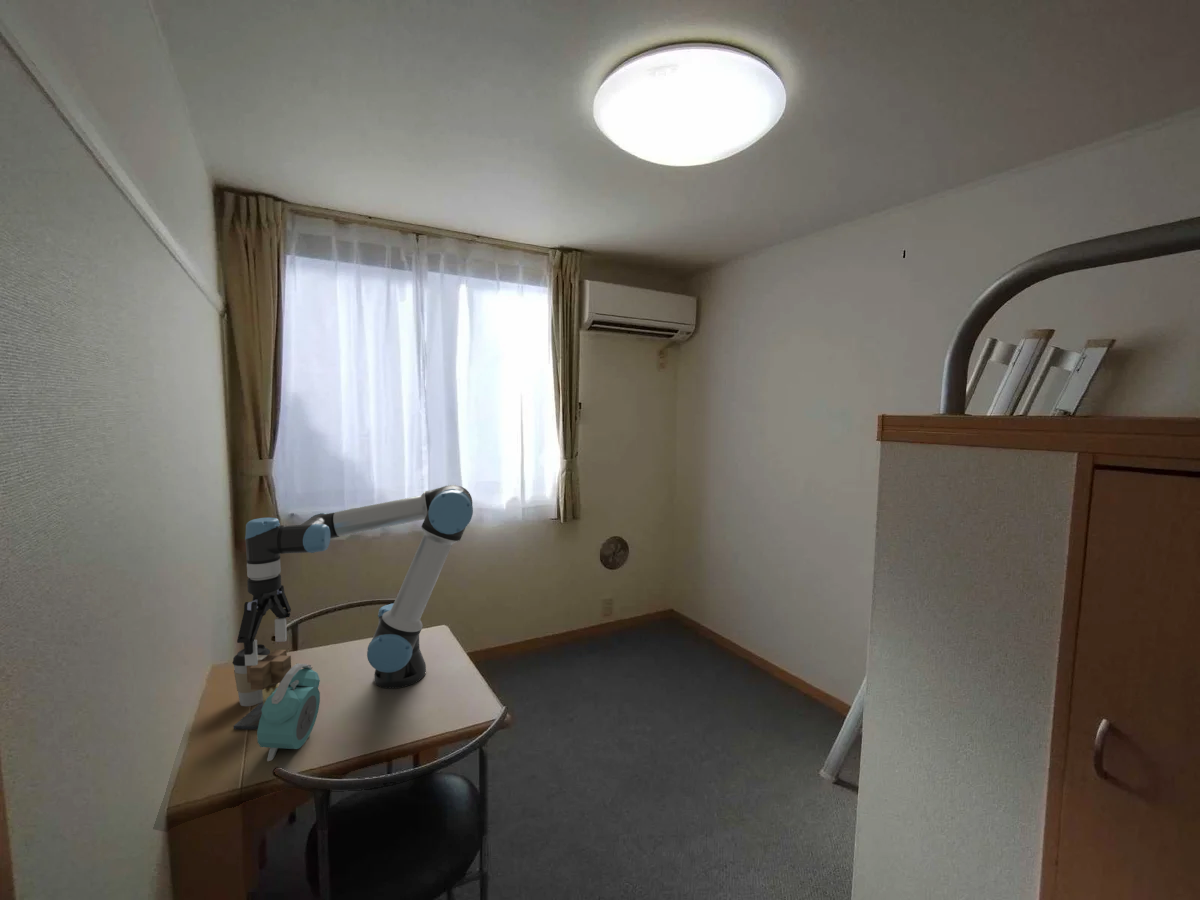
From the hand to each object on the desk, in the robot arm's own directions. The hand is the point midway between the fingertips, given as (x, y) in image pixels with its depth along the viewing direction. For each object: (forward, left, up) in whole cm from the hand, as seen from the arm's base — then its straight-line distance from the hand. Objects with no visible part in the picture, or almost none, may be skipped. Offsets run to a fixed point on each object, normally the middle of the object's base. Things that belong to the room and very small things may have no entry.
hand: (267, 652), depth 135 cm
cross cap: (0, 0, -9) cm, 9 cm away
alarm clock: (-13, +12, -18) cm, 25 cm away
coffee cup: (+10, -8, -18) cm, 22 cm away
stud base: (0, 0, -18) cm, 18 cm away
